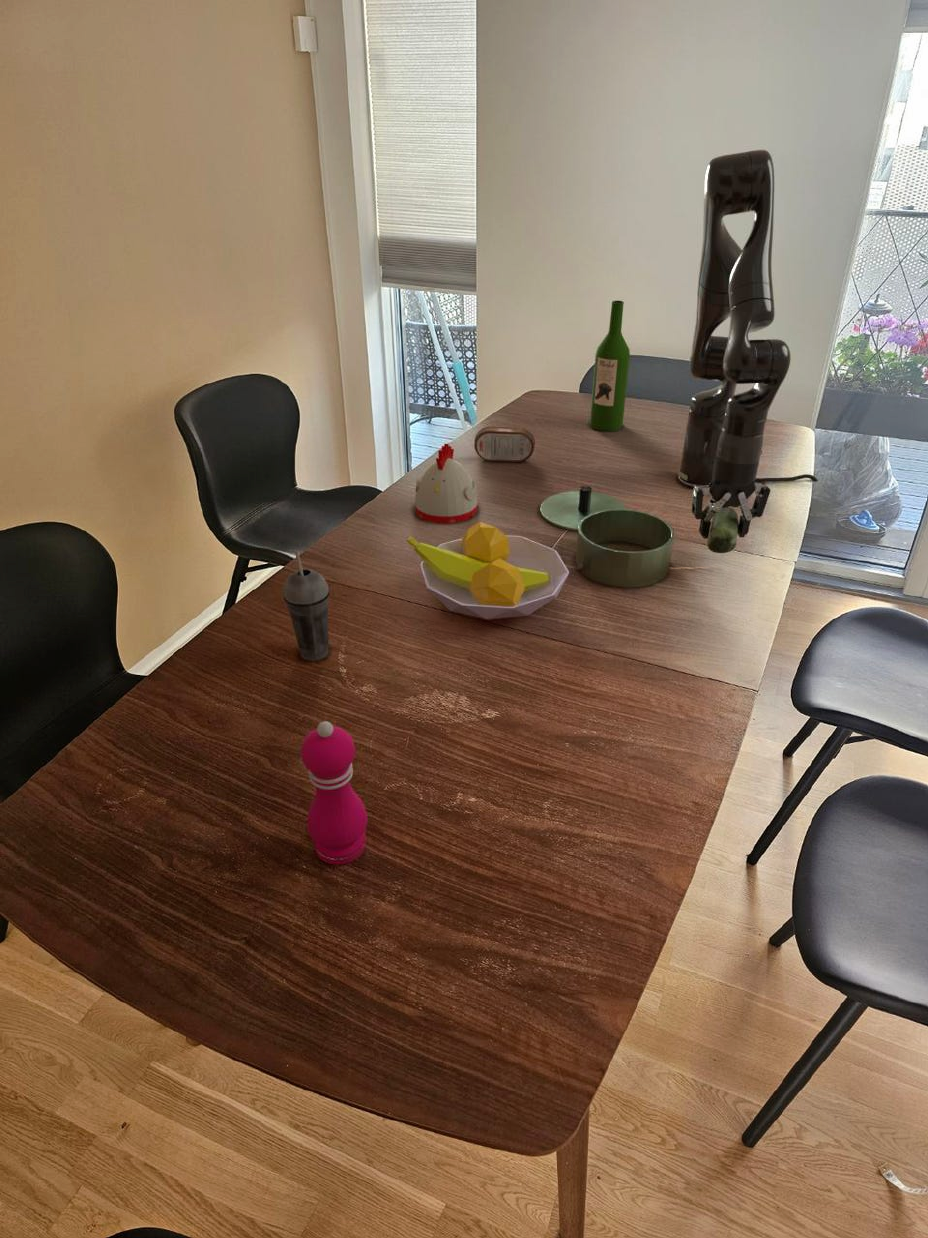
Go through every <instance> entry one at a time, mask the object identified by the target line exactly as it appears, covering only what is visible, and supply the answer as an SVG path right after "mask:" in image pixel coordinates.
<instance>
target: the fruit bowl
mask: <svg viewBox="0 0 928 1238" xmlns="http://www.w3.org/2000/svg"><path fill="white" fill-rule="evenodd" d="M406 542H408V543H409V545H411V547H413V548H414V550H413V551H414V552H415V553H416V554H417V556H419V558H420V559H421V560H422V561H421V563H420V564H419V565H420V568H421V572H422V575H423V579H424V583H425V585H426V588H427V591H429V593H431V594H432V595H433V596H434V597H435V598H436V599H437V600H438V601H439V602H440V603H441V604H442V605H444V606H445V608H447V609H448V610H449V611H451V612H455V613H459V614H462V615H463V614H464V615H468V616H472V617H475V618H480V619H485V620H496V619H505V618H516V617H525V616H526V617H527V616H529V615H532V614H533V613H534V612H535V611H537V610H539V609H541V608H542V607H543V606H545V605H547V604H548V603H549V602H551V601H553V600H555V599H556V598H558V595H559V594H560V591H561V590H562V588H563V587H564V584H565V582H566V580H567V578H568V576H569V574H570V570H569V569H568V568H567V566H566V564H565V563H564V562H563V560H562V558H561V556H560V554H559V552H558V551H557V550H556V549H553V548H551V547H549V546H547V545H544V544H541V543H539V542H538V541H537V542H536V541H534V540H532V539H529V538H527V537H524V536H523V535H507V534H505V533H504V532H502V531H501V530H500V529H499V528H497V527H496V526H495V525H492V524H489V523H485V522H483V521H478V522H477V523H475V524H474V525H472V526H470V527H469V528H468V529H467V530H466V532H465V534H464V536H463V537H462V538H458V539H455V540H451V541H447V542H443V543H440V544H439V545H437V546H434V545H431V544H427V543H423V542H418V541H417V540H415V539H414V537H412V536H408V537H407V538H406Z"/></svg>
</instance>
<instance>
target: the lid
mask: <svg viewBox="0 0 928 1238" xmlns="http://www.w3.org/2000/svg"><path fill="white" fill-rule="evenodd" d="M610 509H627V510H628V508H627V506H626V505H625V504H624V503H623V502H622V501H620V500H619V499H617V498H615V497H613V496H611V495H607V494H604V493H600V492H595V491H593V488H592V487H591V486H589V485H582V486H580V487H579V490H575V491H574V490H573V491H563V492H559V493H556V494H553V495H551V496H549V497H546V499H544V500H543V501H542V503H541V504H540V507H539V512H540V515H541V516H542V518H543V520H544V521H546V522H547V523H549V524H551V525H553V526H555V527H558V528H561V529H564V530H568V531H573V532H578V527H579V523H580V522H581V520H582V519H583V518H584V517H586V516H588V515H590V514H592V513H595V512H598V511H603V510H610Z"/></svg>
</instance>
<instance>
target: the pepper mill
mask: <svg viewBox="0 0 928 1238" xmlns="http://www.w3.org/2000/svg"><path fill="white" fill-rule="evenodd" d="M300 753H301V755H300V756H301V760H302V763H303V765H304V766H305V768H306V769H307V771H308V777H309V781H310V783H311V784H312V785H313V786H314V787H315V796H314V798H313V799H312V802H311V805H310V806H309V807H310V808H309V810H308V814H307V819H306V820H307V830H308V834H309V836H310V838H311V839H312V840H313V842H314V843H313V844H314V849H315V853H316V855H317V857H318V858H319V859H320V860H321V861H322V862H325V863H327V864H330V865H334V866H335V865H336V866H337V865H339V866H341V865H345V864H346V865H347V864H349V863H352V862H353V861H355V860H357V859H358V858H359V857H360V856H361V855H362V854H363V853H364V851H365V849H366V845H367V840H366V829H367V827H368V822H369V821H368V814H367V810H366V807H365V805H364V803H363V800H362V799H361V798H360V796H359V795H358V794H357V793H356V792H355V790H354V789H353V788H352V786H351V782H350V780H351V779H352V778H353V774H354V769H353V761H354V759H355V754H356V748H355V743H354V740H353V739H352V736H351V734H349V733H348V731H346V729H343V728H342V727H339V726H335V725H333V724H332V723H331V722H330V721H325V720H324V721H321V722H320V723H319V724H318V725H317V728H315V729H313V730H312V731H311V730H310V732H309V733H308V734H307V735H306V737H305V738H304V740H303V742H302V745H301V752H300ZM364 841H365V843H364ZM363 843H364V846H363V847H362V849H361V850H360V851H359V852H358V853H357V854H355V855H354V856H352V857H350V858H347V859H343V860H330V859H327V858H325V857H323V856H321V855H320V854H319V853H318V852H320V853H321V854H322V855H324V856H326V857H330V858H334V859H336V858H338V859H340V858H345V857H348V856H351V855H353V854H354V853H356V852H357V851H358V850H359V849H360V848H361V846H362V845H363ZM315 847H316V848H315ZM316 849H317V850H318V852H317V850H316Z"/></svg>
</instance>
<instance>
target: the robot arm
mask: <svg viewBox="0 0 928 1238" xmlns="http://www.w3.org/2000/svg"><path fill="white" fill-rule="evenodd" d="M751 212H753V223H752V228H751V230H750V234H749V235H748V238H747V240H746V242H745V244H744V246H743V248H741V247H740V245H739V244H738V242H736V240H735V239H734V238H733V236H732V235H731V234H730V232H729V231H728V229H727V227H726V225H725V222H724V217H725V216H731V215H738V214H746V213H751ZM774 215H775V166H774V162H773V157H772V155H771V153H770V152H769V151H768V150H767V149H755V150H748V151H743V152H737V153H736V152H735V153H730V154H723V155H720V156H716V157H714V158H712V159H710V161H709V162H708V164H707V167H706V170H705V175H704V182H703V220H702V221H703V224H702V226H703V227H702V229H703V230H702V231H703V232H702V245H701V253H700V262H699V270H698V278H697V279H698V282H697V295H696V314H695V315H696V317H695V326H694V332H693V339H692V345H691V349H690V358H689V371H690V374H691V376H692V378H695V379H697V380H701V381H710V382H711V381H713V382H720V383H721V384H720V385H718V386H716V387H713V388H712V389H709V390H703V391H701V392H698V393H695V394H694V395H693V396H692V397H691V399H690V403H689V411H688V416H687V421H686V423H687V424H686V429H685V436H684V441H683V449H682V454H681V462H680V467H679V470H678V473H677V476H678V478H677V479H678V482H680V484H681V485H683V486H686V487H688V488H692V499H691V502H692V503H691V513H692V514H693V516H694V518H695V519H696V520H700V521H699V529H698V531H699V532H698V533H699V534H700V536H701V537H702V538H703V539H704V540H708V537H709V534H710V529H711V524H712V519H713V517H714V515H715V513H718V512H719V510H720V509H721V508H726V507H730V508H739V509H740V512H741V514H742V515H740V516H739V519H738V520H739V525H738V532H737V536H738V537H739V538H741V539H742V538H745V537H746V536H747V535H748V533H749V530H750V525H751V521H752V519H754V518H761V517H762V516H763V514H764V511H765V509H766V505H767V503H768V500H769V498H770V494H771V488H770V487H769V486H768V485H767V484H766V483H768V482H770V483H771V482H774V483H776V482H777V483H779V482H793V481H799V480H803V479H809V480H811V481H812V482H816V483H817V482H819V480H818V479H817V477H816V476H815V475H812V474H809V473H804V474H800V475H795V476H791V477H790V476H789V477H788V476H787V477H757V474H758V470H759V464H760V461H761V456H762V454H763V446H764V445H763V444H764V434H765V430H766V429H765V428H766V424H767V420H768V416H769V415H768V414H769V411H770V408H771V406H772V404H773V402H774V400H775V398H776V396H777V393H778V391H779V390H780V388H781V386H782V384H783V383H784V380H785V379H786V377H787V374H788V372H789V369H790V365H791V359H792V357H791V356H792V355H791V351H790V348H789V345H788V344H787V343H786V341H785V340H783V339H779V338H768V339H766V338H765V339H749V334H751V333H755V332H758V331H762V330H764V329H766V328H768V327H770V325H772V324H773V322H774V320H775V316H776V310H775V299H774V296H775V295H774V285H773V284H774V283H773V272H772V271H773V270H772V269H773V268H772V267H773V265H772V261H773V259H772V258H773V240H774V218H775V217H774ZM729 318H730V320H729V321H730V322H729V331H728V336H721V335H720V336H719V335H713V333H714V332H715V331H716V329H717V328H719V326H721V324H723V323H724V322H725V321H727V319H729ZM748 384H749V385H750V384H751V385H753V384H754V385H753V386H752V387H751V389H748V390H746V391H743V392H741V393H737V394H736V391H737V390H736V389H737V385H748ZM756 483H760V484H756ZM708 494H710V495H711V496H710V497H709V499H708V500H707V501H706V505H705V506H704V507H703V505H704V504H703V503H704V502H703V501H704V499H705V498H706V497H707V495H708ZM753 494H755V498H754V501H753V504H752V506H751V507H750V506H749V505H750V504H749V502H748V499H749V498H750V497H751V496H752V495H753Z"/></svg>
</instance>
